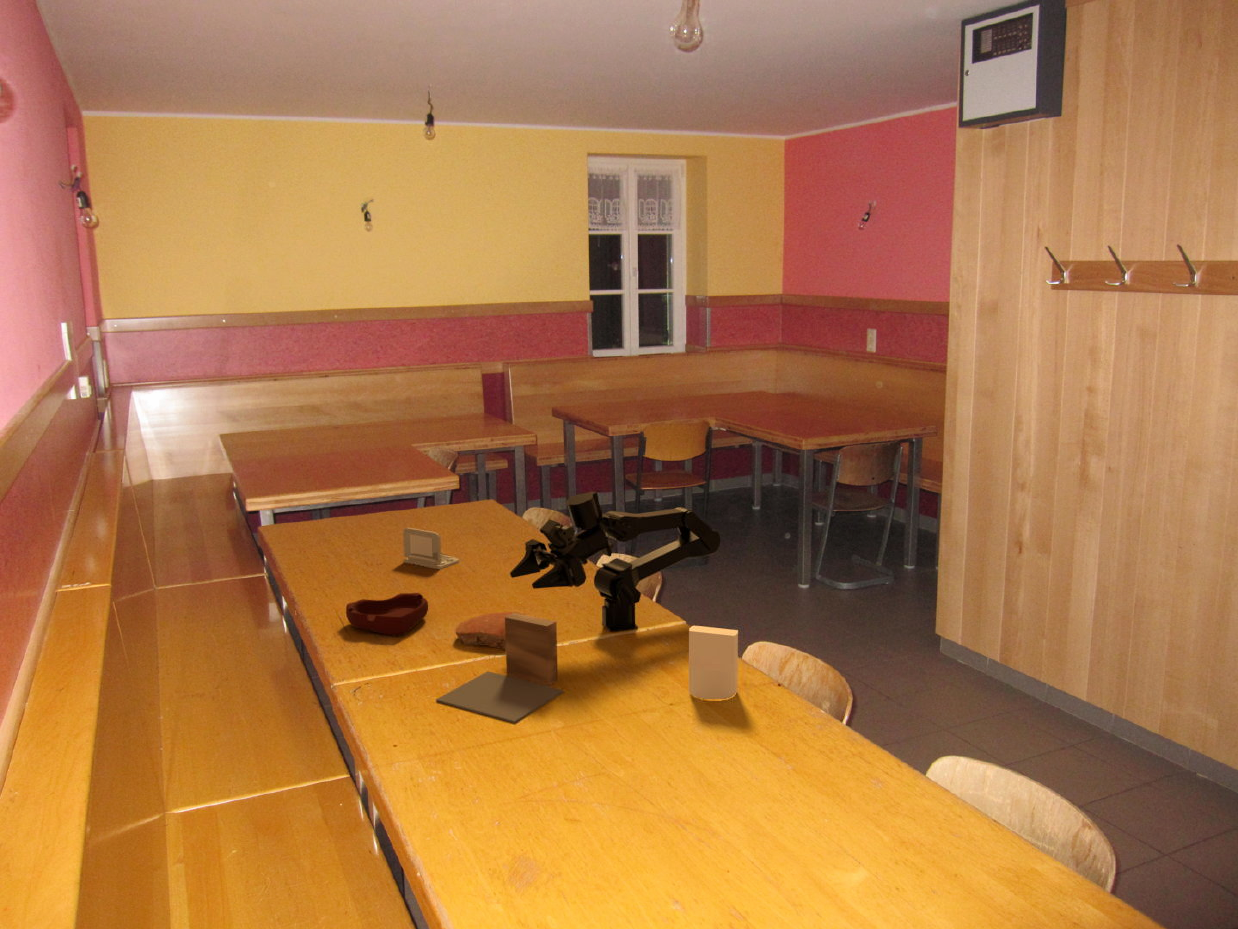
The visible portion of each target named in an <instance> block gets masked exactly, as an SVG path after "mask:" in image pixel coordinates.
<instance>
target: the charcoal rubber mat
mask: <svg viewBox="0 0 1238 929" xmlns="http://www.w3.org/2000/svg"><path fill="white" fill-rule="evenodd" d="M563 693H564V689H560V688H556V687H552V686H546V685H542V684H538V683H534V682H530V681H526V680H522V679H518V678H514V677H510V676H507V675H504V674H500V673H496V672H493V671H492V672H491V671H489V670H488V671H485V672H484V673H482V674H480V675H478V676H477V677H475V678H473V679H471V680H469V681H467V682H465V683H464V684H462V685H460V686H458V687H456V688H455V689H452V690H451V691H449V692H447V693H445V694H443V695H442V696H440V697H437V698H436V699H435V701H436V702H437V703H441V704H445V705H448V706H451V707H455V708H459V709H462V710H466V711H469V712H473V713H475V714H476V713H477V714H480V715H484V716H488V717H491V718H494V719H498V720H502V721H505V722H507V723H508V722H509V723H512V724H516V723H518V722H519V721H521V720H523V719H525V718H526V717H528V716H529V715H530V714H531V713H533V712H535V711H537V710H538V709H540V708H541V707H543V706H544V705H546V704H548V703H549V702H550V701H552V700H554V699H555V698H557V697H558V696H560V695H561V694H563Z"/></svg>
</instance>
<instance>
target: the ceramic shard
mask: <svg viewBox="0 0 1238 929" xmlns="http://www.w3.org/2000/svg"><path fill="white" fill-rule="evenodd" d="M513 613H518V614H523V615H526V614H525V613H523V612H522V613H521V612H516V611H515V612H514V611H512V612H511V611H508V612H507V611H505V612H491V613H486V614H481V615H479V616H476V617H471V618H469V619H466V620H464V621H461V622H460V623H459V624H458V625H457V626H456V627H455V635H456V636H457V638H458V640H461V642H462V643H463V645H464V646H467V647H470V646H490V647H492V648H496V649H497V648H498V649H503V650H506V636H505V617H507V616H509V615H511V614H513Z"/></svg>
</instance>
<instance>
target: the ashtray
mask: <svg viewBox="0 0 1238 929" xmlns="http://www.w3.org/2000/svg"><path fill="white" fill-rule="evenodd" d="M345 608H346V610H345V615H346V618H347V620H348V622H349V623H350V624H351V625H352V627H354V628H357V629H360V630H365V631H371V632H375V633H380V634H383V635H386V636H392V637H400V636H399V635H401V636H404V635H406V634H407V633H408V632H410V631H411V630H412V629H413V628H414V627H415V626H416V625H417V624H418V623H419V622H420V621H421V620H423V619H424V618H425V617H426V615H427V613H428V612H429V602H428V600H427V598H425V597H424V596H423V595H422V594H421V593H419V592H410V593H408V592H406V593H405V592H403V593H401V592H400V593H398V594H396V595H394V596H392V597H390V598H387V599H382V600H381V599H380V600H378V599H364V598H363V599H359V600H357V601H353V602H349V603H347V604H346V607H345ZM405 633H406V634H405Z"/></svg>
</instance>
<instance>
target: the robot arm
mask: <svg viewBox="0 0 1238 929" xmlns="http://www.w3.org/2000/svg"><path fill="white" fill-rule="evenodd" d="M566 505H567V508H568V511H569V515H570V518H571V520H572V523H573V526H574V527H575V528H577V529H579V530H580V531H579V532H578V533H576V530H575V528H573V526H571V525H563V524H562V523H561V522H558V521H556V520H553V519H550V518H549V519H548V520H547V521H546V522H545V523H544V524H543V526H541V528H540V529H539V532H540V533H541V534H543V536H544V537H545V538H546V539H547V540H548V542H547V546H548V549H549V550H550V551H548V549H547V546H546V544H545V543H543V542H541V541H538V540H536V539H534V538H532V539H531V538H530V540H528V541H526V542H524V546H525V547H524V550H525V553H524V556H523V558H522V559H521V560H520V561H519V562H518V564H516V566H514V568H513V569H512V570H511V571H510V572H509V575H510V578H512V579H513V578H519V577H523V576H527V575H532V574H537V573H541V570H542V571H543V570H546V569H548V568H549V567H550V565H551V566H553V567H552V568H551V569H549V570H548V571H547V572H546V573H544V574H543V575H541V576H540V577H539V578H537V579H535V581H533V582H532V583H531V585H532V588H533V590H536V589H548V588H562V587H563V588H564V587H569V588H572V587H573V586H574V587H575V588H579V587H580V586H582V585H584V584H585V583H586V580H587V574H586V572H585V568H584V566H585V565H587V564H588V562H589V561H588V559H589V558H591V557H593V556H595V555H596V554H598V553H599V554H602V555H604V556H607V557H612V554H613V548H614V544H613V543H610V539H613V540H615V541H618V542H621V543H626V542H628V541H631V540H634V539H637V538H639V536H641V535H642V534H645V533H651V532H658V531H664V530H669V529H670V530H671V529H677V531H678V533H679V536H678V538H677V539H676V540H674V541H673V542H670V543H668V544H666V545H663V546H662V547H659V548H657V549H655V550H653V551H651V552H649V553H647V554H644V555H642V556H641V557H638V558H636V559H634V560H631V561H629V562H628V561H625V560H624V559H620V558H618V557H616V558H614V559H612V560H610V561H609V562H607V563H601V567H599V568H598V569H597V570H596V571H595V575H594V576H593V577H594V578H593V584H594V588H595V589H596V590H597V591H598V592H599V595H600V597H602V598H604V600H603V602H604V605H602V607H601V614H602V615H601V619H602V621H601V624H602V625H604V627H605V628H606V629H607V630H608V631H609V632H612V633H613V632H614V633H615V632H620V631H630V630H636V629H638V628H639V626H638V624H637V623H636V604H638V603H639V602H640V600H641V596H642V592H640V591H639V590H638V589H637V586H638V585H639V583H640V582H642V581H643V580H645V579H647V578H650V577H651V576H653V575H655V574H657V573H659V572H661V571H663V570H666V569H667V568H670V567H672V566H674V565H676V564H678V563H680V562H682V561H684V560H686V559H688V558H689V559H690V558H702V557H706V556H707V557H708V556H710V555H713V554H715V553H717V551H719V547H720V545H721V536H720V534H719V532H718V531H717V530H715V529H712V528H711V526H709V525H708V524H707V523H706V522H704V521H703V520H702V519H700V518H699V517H698V516H697V514H696V513H695V512H694V511H693V510H692V509H690V508H685V507H681V506H678V507H675V508H672V509H671V508H670V509H663V510H657V511H656V510H655V511H649V512H641V513H631V512H625V511H615V510H610V511H607V512H605V513H604V512H602V509H601V508H602V507H601V505H600V500H599V495H598V492H595V491H592V490H591V491H589V492H585V493H584V492H583V493H579V494H574V495H571V496H570V497H569V498H568V499H567V500H566ZM609 538H610V539H609Z"/></svg>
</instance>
